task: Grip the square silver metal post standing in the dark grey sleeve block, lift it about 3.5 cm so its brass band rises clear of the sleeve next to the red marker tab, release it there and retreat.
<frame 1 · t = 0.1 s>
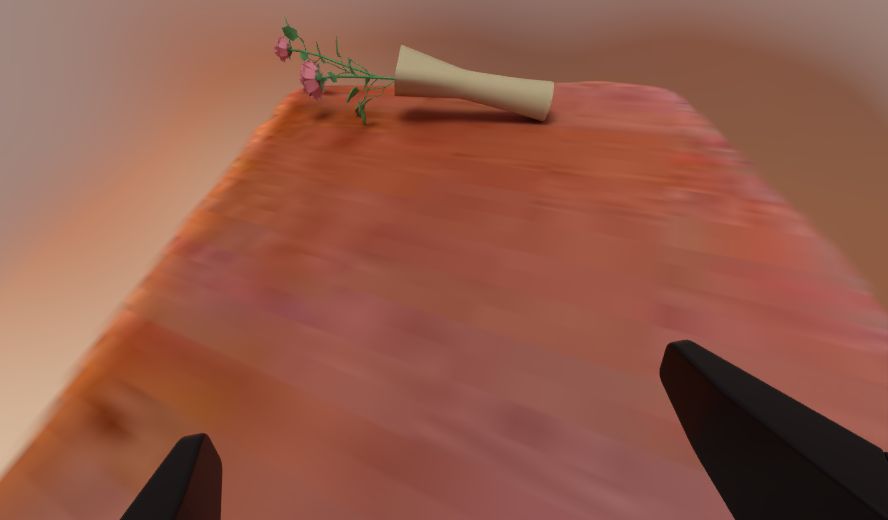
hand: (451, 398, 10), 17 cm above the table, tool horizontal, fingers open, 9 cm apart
flower vase: (415, 122, 67), on the table
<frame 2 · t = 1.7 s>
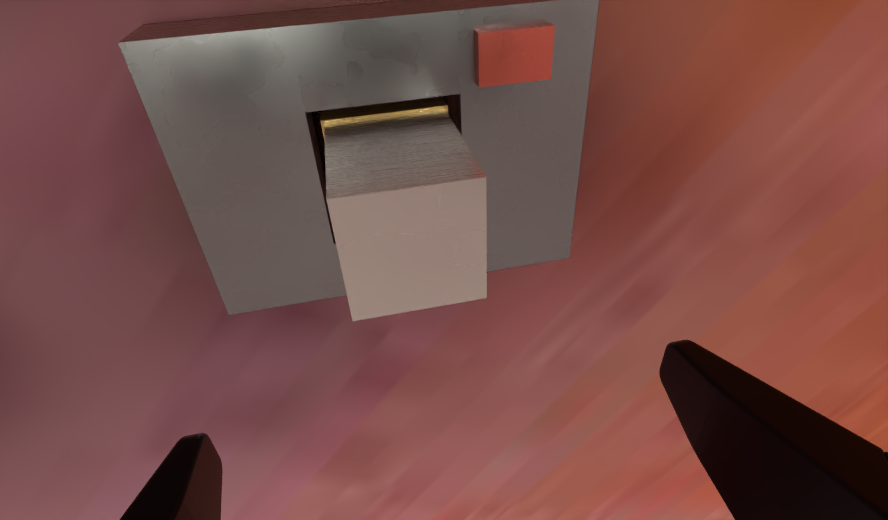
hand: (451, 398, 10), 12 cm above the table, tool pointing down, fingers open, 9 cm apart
post: (397, 190, 17), point 4 cm above the table, slide at 0.0 cm
sleeve block: (385, 145, 20), on the table
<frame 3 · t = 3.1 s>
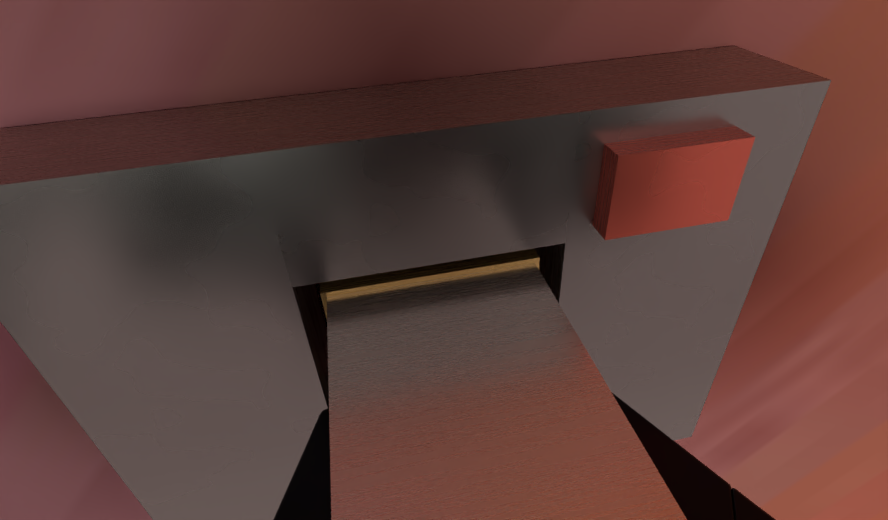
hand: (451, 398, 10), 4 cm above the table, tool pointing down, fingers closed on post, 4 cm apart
post: (454, 410, 10), point 4 cm above the table, slide at 0.0 cm, touching gripper
sleeve block: (421, 287, 13), on the table
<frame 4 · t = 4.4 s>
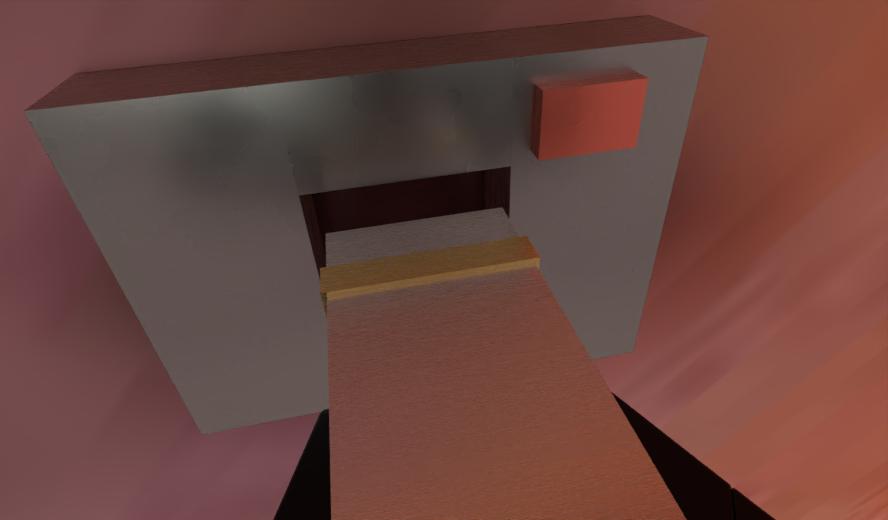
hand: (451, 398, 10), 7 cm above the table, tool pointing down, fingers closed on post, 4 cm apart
post: (454, 409, 10), point 7 cm above the table, slide at 3.4 cm, touching gripper
sleeve block: (403, 218, 15), on the table
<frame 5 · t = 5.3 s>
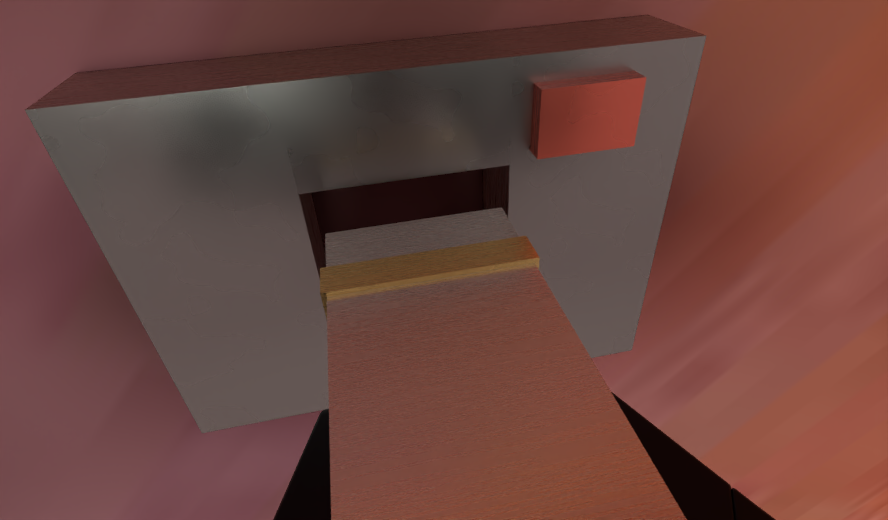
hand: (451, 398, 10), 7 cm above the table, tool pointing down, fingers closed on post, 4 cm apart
post: (454, 409, 10), point 7 cm above the table, slide at 3.4 cm, touching gripper
sleeve block: (403, 217, 15), on the table
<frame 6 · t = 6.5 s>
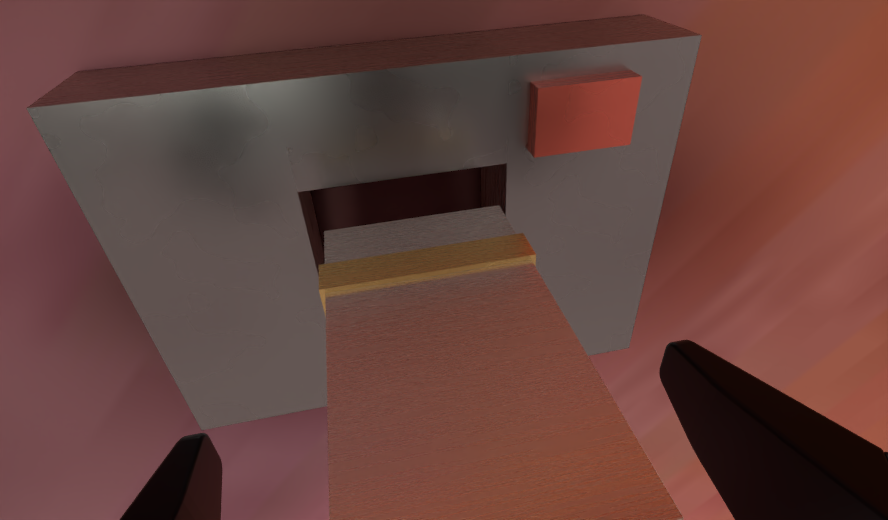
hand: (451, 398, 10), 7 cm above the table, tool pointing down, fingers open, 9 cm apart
post: (451, 405, 10), point 7 cm above the table, slide at 3.5 cm
sleeve block: (401, 215, 15), on the table
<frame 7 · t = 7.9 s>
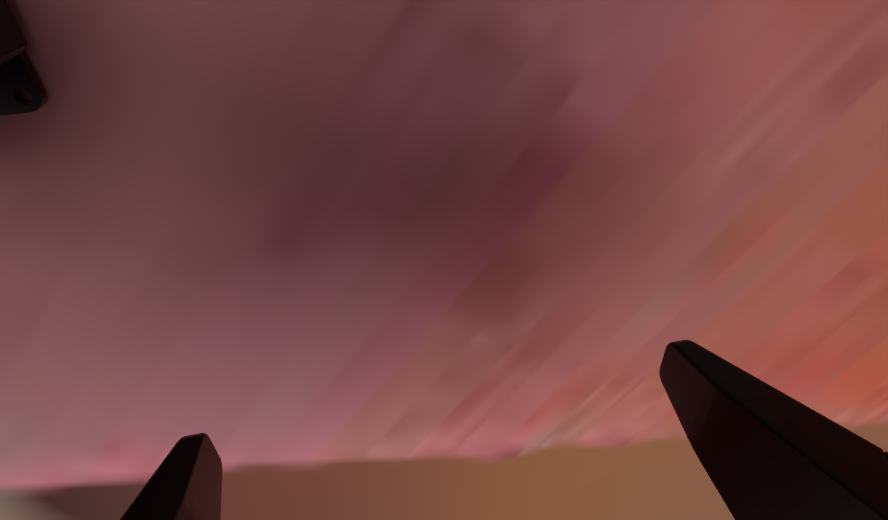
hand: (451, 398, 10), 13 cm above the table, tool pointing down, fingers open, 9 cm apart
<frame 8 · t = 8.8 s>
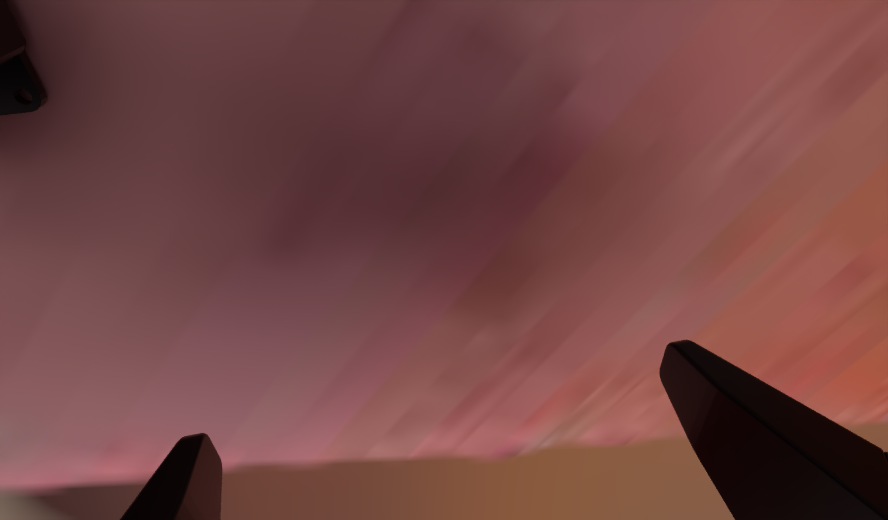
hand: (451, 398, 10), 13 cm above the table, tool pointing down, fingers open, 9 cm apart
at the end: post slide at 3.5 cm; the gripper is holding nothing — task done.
